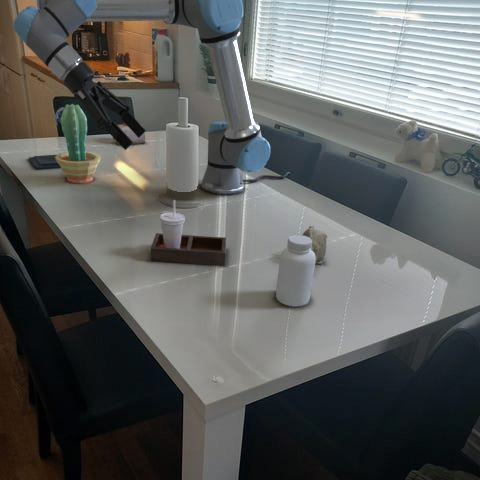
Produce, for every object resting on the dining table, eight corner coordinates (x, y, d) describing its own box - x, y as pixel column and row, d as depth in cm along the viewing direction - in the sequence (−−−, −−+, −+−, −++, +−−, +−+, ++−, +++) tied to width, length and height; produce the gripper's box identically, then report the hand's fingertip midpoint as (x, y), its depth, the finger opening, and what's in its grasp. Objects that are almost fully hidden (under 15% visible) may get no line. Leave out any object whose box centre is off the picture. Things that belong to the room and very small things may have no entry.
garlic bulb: (307, 273, 134) (305, 245, 127) (291, 256, 140) (288, 228, 132) (336, 260, 136) (337, 231, 129) (319, 243, 142) (319, 214, 134)
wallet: (34, 164, 185) (28, 154, 197) (34, 169, 186) (28, 158, 198) (88, 161, 194) (80, 151, 205) (89, 166, 195) (80, 156, 206)
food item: (118, 146, 224) (116, 123, 218) (111, 142, 229) (110, 119, 224) (146, 144, 230) (146, 121, 225) (139, 140, 236) (138, 118, 230)
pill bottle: (272, 290, 120) (279, 231, 112) (305, 291, 121) (314, 232, 113) (277, 307, 113) (285, 246, 105) (312, 308, 114) (322, 247, 106)
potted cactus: (88, 170, 190) (81, 99, 177) (110, 181, 181) (105, 107, 168) (49, 177, 180) (39, 102, 167) (71, 188, 172) (62, 110, 158)
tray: (156, 245, 137) (155, 233, 135) (225, 249, 138) (226, 237, 136) (150, 261, 129) (150, 248, 127) (224, 265, 130) (225, 252, 128)
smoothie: (180, 258, 130) (180, 206, 122) (156, 254, 130) (155, 202, 123) (187, 248, 135) (188, 197, 128) (164, 244, 136) (164, 194, 128)
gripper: (80, 76, 135) (138, 138, 142) (42, 89, 114) (112, 162, 121) (98, 55, 132) (156, 120, 139) (63, 65, 111) (133, 141, 118)
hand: (136, 140), depth 130 cm, fingers open, 13 cm apart
